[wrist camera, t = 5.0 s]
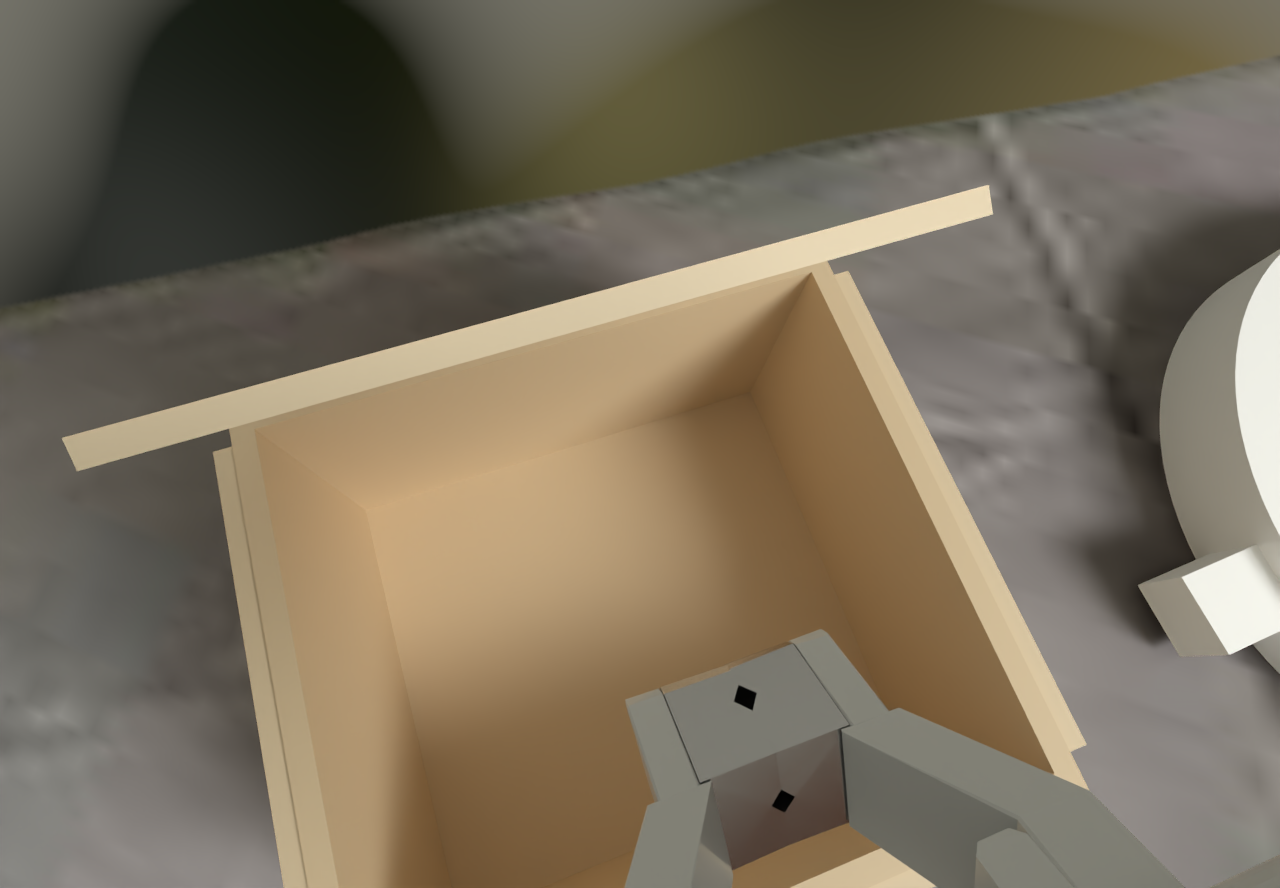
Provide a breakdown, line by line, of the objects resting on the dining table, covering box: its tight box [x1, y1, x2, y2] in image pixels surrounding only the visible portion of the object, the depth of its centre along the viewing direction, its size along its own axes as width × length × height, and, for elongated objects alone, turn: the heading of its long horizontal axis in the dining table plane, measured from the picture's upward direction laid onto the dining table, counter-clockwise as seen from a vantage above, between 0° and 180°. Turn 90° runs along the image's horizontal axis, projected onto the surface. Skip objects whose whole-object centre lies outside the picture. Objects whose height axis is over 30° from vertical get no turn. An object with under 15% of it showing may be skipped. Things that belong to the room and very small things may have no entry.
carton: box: [213, 261, 1089, 888], centre depth 25 cm, size 19×21×11 cm
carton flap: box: [62, 185, 993, 471], centre depth 17 cm, size 1×18×9 cm, turn 109°
